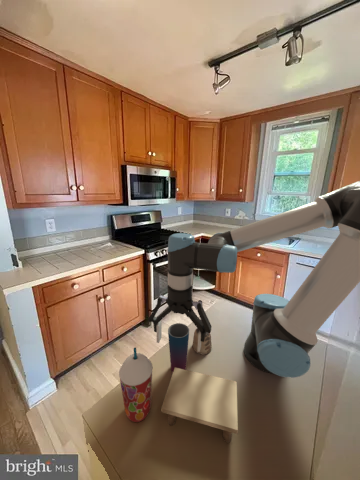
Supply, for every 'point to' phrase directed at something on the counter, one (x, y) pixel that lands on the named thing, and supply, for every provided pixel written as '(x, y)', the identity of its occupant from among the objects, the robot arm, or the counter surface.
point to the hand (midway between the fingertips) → (178, 344)
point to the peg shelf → (202, 401)
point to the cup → (178, 345)
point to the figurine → (205, 345)
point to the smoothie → (136, 386)
